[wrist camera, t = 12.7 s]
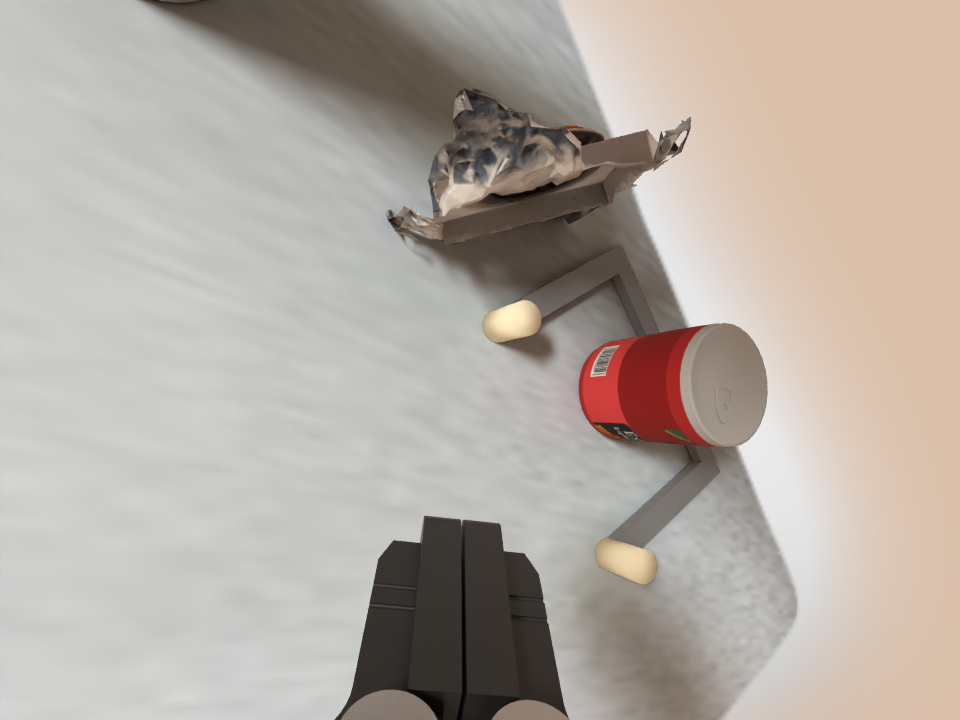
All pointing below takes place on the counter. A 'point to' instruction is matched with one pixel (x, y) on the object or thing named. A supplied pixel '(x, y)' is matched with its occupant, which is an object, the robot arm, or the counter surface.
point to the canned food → (677, 387)
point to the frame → (525, 319)
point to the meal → (525, 171)
